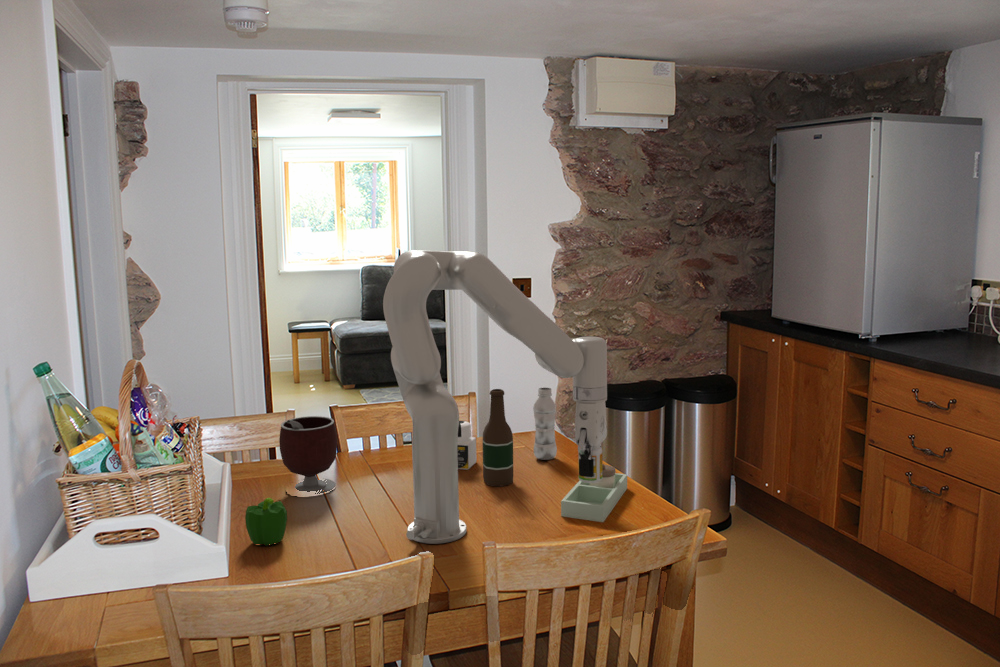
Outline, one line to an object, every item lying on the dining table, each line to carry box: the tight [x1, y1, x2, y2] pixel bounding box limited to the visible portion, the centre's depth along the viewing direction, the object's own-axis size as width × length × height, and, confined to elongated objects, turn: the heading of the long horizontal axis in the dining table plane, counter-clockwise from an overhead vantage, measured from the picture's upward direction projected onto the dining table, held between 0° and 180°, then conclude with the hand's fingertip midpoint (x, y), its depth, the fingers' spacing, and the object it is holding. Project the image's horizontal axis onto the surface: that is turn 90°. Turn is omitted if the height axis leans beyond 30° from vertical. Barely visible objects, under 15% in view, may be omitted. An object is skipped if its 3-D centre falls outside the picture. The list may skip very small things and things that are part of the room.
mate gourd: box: [278, 415, 338, 494], centre depth 187 cm, size 16×14×20 cm
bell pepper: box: [244, 497, 288, 546], centre depth 157 cm, size 8×8×10 cm
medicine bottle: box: [457, 420, 478, 471], centre depth 206 cm, size 7×7×12 cm
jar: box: [589, 463, 616, 489], centre depth 180 cm, size 6×6×7 cm
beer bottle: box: [482, 388, 514, 488], centre depth 191 cm, size 8×8×24 cm
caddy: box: [560, 472, 628, 523], centre depth 175 cm, size 22×10×4 cm, turn 157°
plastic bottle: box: [532, 387, 558, 461], centre depth 209 cm, size 6×7×20 cm
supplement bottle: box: [577, 442, 603, 483], centre depth 169 cm, size 5×5×10 cm
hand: (590, 470), depth 169 cm, fingers closed on supplement bottle, 5 cm apart
